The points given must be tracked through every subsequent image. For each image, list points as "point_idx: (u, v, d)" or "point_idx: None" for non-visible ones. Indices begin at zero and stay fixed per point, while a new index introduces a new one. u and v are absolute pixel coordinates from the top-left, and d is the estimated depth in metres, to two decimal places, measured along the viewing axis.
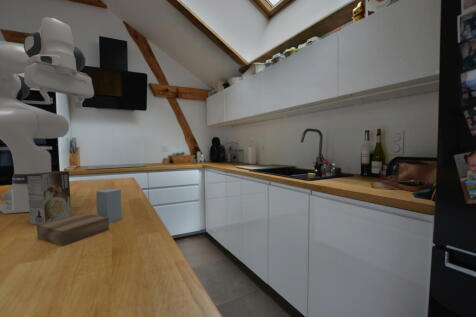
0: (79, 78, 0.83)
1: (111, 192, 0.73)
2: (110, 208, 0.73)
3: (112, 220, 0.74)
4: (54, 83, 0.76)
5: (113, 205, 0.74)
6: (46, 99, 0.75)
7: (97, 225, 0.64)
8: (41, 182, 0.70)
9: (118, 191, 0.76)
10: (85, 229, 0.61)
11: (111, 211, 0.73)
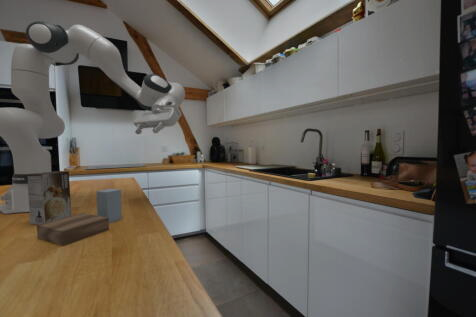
0: None
1: (111, 192, 0.73)
2: (110, 208, 0.73)
3: (112, 220, 0.74)
4: None
5: (113, 205, 0.74)
6: (157, 130, 0.87)
7: (97, 225, 0.64)
8: (41, 182, 0.70)
9: (118, 191, 0.76)
10: (85, 229, 0.61)
11: (111, 211, 0.73)
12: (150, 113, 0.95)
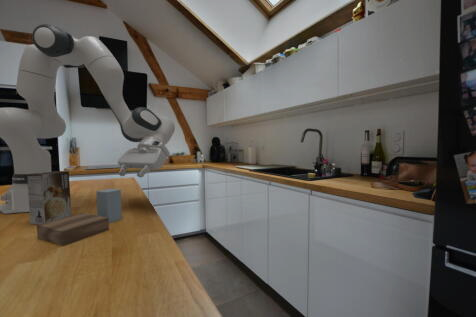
0: None
1: (111, 192, 0.73)
2: (110, 208, 0.73)
3: (112, 220, 0.74)
4: None
5: (113, 205, 0.74)
6: (142, 174, 0.81)
7: (97, 225, 0.64)
8: (41, 182, 0.70)
9: (118, 191, 0.76)
10: (85, 229, 0.61)
11: (111, 211, 0.73)
12: (136, 152, 0.89)
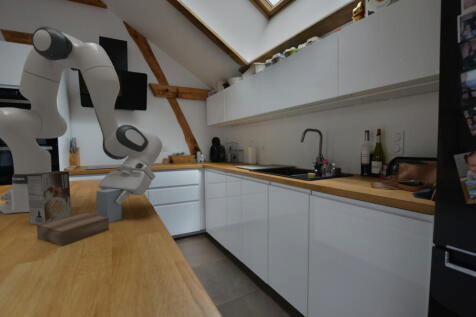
0: None
1: (111, 192, 0.73)
2: (110, 208, 0.73)
3: (112, 220, 0.74)
4: None
5: (113, 205, 0.74)
6: (120, 200, 0.75)
7: (97, 225, 0.64)
8: (41, 182, 0.70)
9: (118, 191, 0.76)
10: (85, 229, 0.61)
11: (111, 211, 0.73)
12: (118, 174, 0.82)
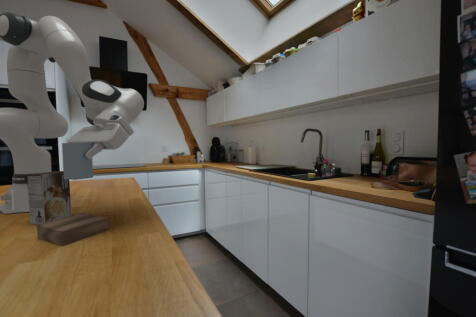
0: None
1: (79, 144, 0.63)
2: (78, 162, 0.62)
3: (81, 177, 0.63)
4: None
5: (82, 160, 0.63)
6: (91, 155, 0.64)
7: (97, 225, 0.64)
8: (41, 182, 0.70)
9: (88, 144, 0.65)
10: (85, 229, 0.61)
11: (79, 166, 0.63)
12: (91, 129, 0.71)
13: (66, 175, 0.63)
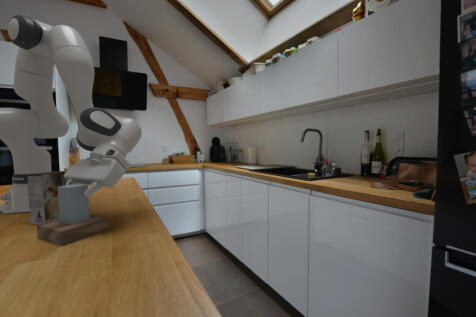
0: None
1: (75, 187, 0.62)
2: (74, 206, 0.62)
3: (77, 220, 0.63)
4: None
5: (79, 203, 0.63)
6: (89, 193, 0.62)
7: (97, 225, 0.64)
8: (41, 182, 0.70)
9: (84, 186, 0.64)
10: (85, 230, 0.61)
11: (75, 210, 0.62)
12: (87, 163, 0.70)
13: (62, 219, 0.62)
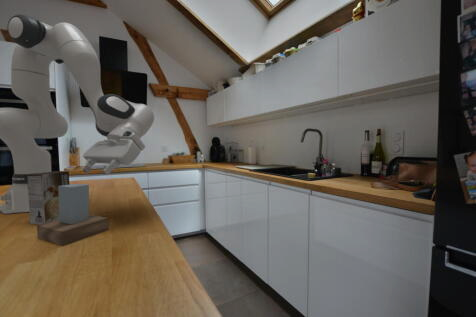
0: None
1: (76, 187, 0.62)
2: (75, 206, 0.62)
3: (77, 220, 0.62)
4: None
5: (79, 203, 0.63)
6: (109, 170, 0.67)
7: (97, 225, 0.64)
8: (41, 182, 0.70)
9: (85, 186, 0.64)
10: (85, 229, 0.61)
11: (75, 209, 0.62)
12: (105, 144, 0.75)
13: (62, 219, 0.62)
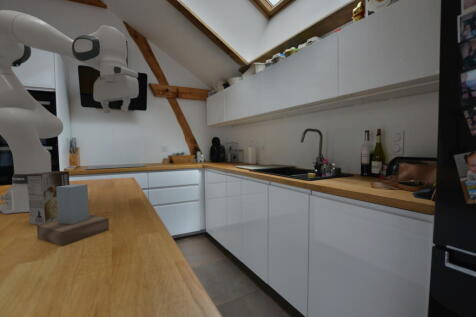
0: None
1: (76, 187, 0.62)
2: (75, 206, 0.62)
3: (78, 220, 0.63)
4: None
5: (79, 203, 0.63)
6: (126, 108, 0.81)
7: (97, 225, 0.64)
8: (41, 182, 0.70)
9: (84, 186, 0.65)
10: (85, 230, 0.61)
11: (76, 209, 0.62)
12: (104, 84, 0.83)
13: (61, 220, 0.62)
